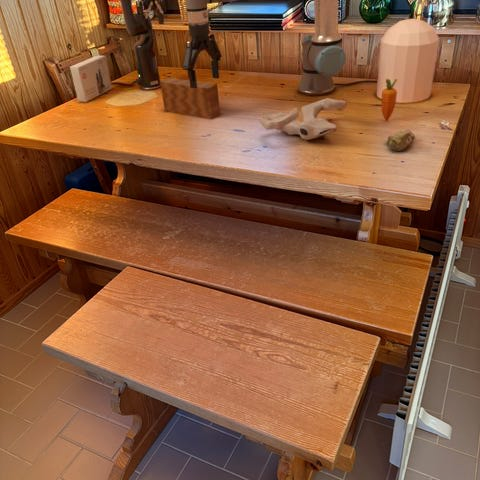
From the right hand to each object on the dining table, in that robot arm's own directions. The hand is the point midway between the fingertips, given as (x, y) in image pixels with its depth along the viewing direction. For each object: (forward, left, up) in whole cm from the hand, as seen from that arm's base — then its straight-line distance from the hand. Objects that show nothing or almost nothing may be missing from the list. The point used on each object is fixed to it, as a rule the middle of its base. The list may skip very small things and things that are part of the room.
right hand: (205, 82), depth 179 cm
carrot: (-51, +46, -13) cm, 70 cm away
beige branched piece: (-21, +43, -13) cm, 49 cm away
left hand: (+8, -33, +17) cm, 38 cm away
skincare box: (+35, -61, -13) cm, 71 cm away
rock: (-41, +66, -13) cm, 79 cm away
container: (-74, +27, -13) cm, 80 cm away
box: (+4, -8, -13) cm, 16 cm away
